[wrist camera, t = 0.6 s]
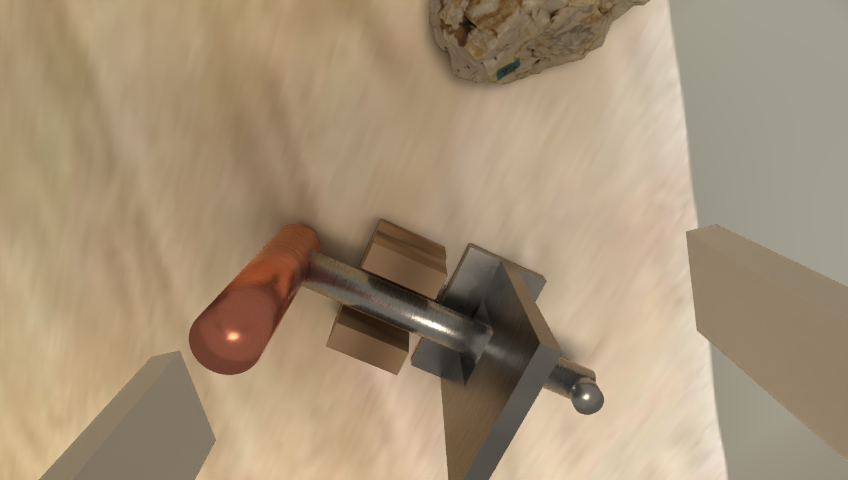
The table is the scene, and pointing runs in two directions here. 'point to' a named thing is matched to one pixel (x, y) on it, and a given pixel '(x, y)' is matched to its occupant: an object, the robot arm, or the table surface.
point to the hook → (305, 266)
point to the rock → (520, 34)
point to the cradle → (399, 265)
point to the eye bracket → (490, 361)
